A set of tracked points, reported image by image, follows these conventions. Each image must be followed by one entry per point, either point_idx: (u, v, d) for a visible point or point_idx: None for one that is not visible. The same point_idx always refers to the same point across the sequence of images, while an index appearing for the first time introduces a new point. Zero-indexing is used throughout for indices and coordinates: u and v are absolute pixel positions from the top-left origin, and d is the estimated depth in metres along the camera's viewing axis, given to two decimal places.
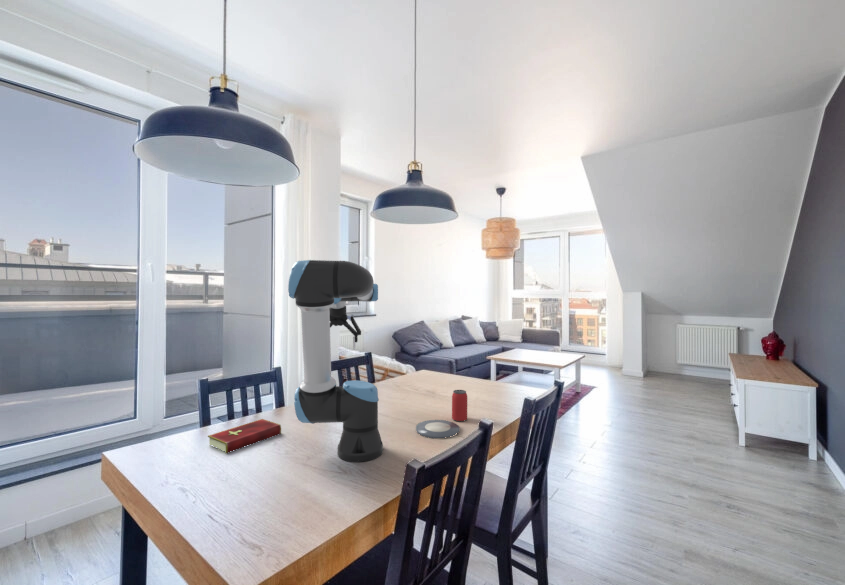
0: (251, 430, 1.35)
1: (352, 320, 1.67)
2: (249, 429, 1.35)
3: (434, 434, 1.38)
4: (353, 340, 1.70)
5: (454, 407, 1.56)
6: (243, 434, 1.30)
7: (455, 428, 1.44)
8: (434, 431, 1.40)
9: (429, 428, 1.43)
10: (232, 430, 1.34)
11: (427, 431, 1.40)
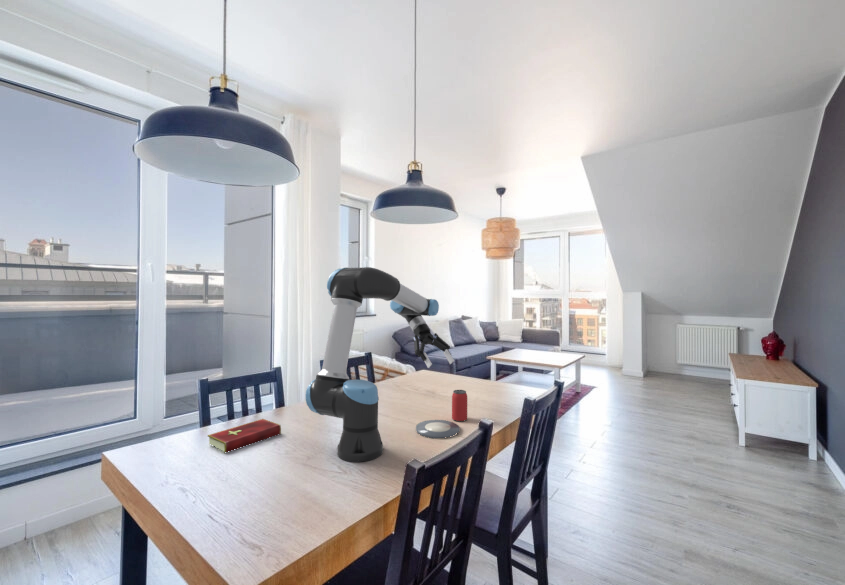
0: (250, 429, 1.35)
1: (437, 336, 1.78)
2: (249, 429, 1.36)
3: (434, 434, 1.38)
4: (448, 352, 1.72)
5: (454, 407, 1.56)
6: (242, 434, 1.31)
7: (455, 428, 1.44)
8: (434, 431, 1.40)
9: (429, 428, 1.43)
10: (232, 430, 1.35)
11: (427, 431, 1.40)
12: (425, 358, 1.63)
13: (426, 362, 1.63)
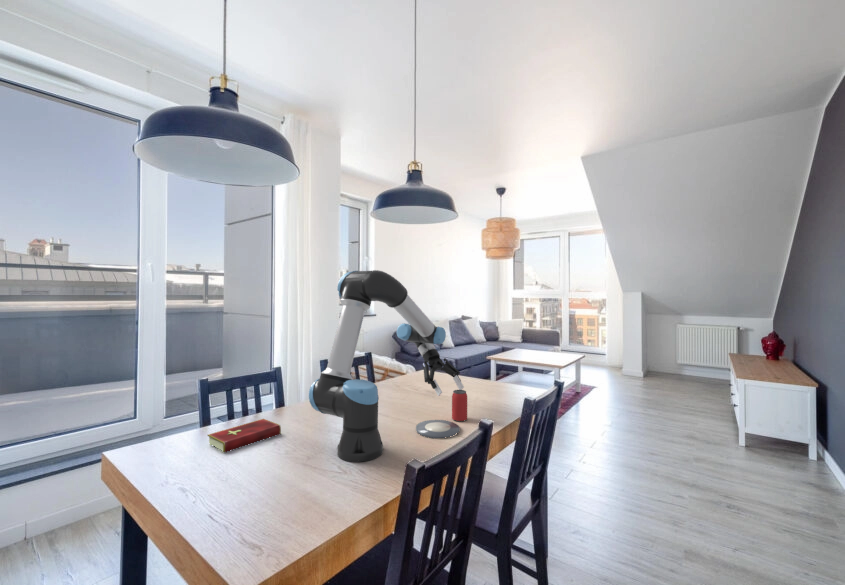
0: (250, 429, 1.35)
1: (447, 361, 1.75)
2: (249, 429, 1.36)
3: (434, 434, 1.38)
4: (458, 378, 1.69)
5: (454, 407, 1.56)
6: (241, 434, 1.31)
7: (455, 428, 1.44)
8: (434, 431, 1.40)
9: (429, 428, 1.43)
10: (232, 429, 1.35)
11: (427, 431, 1.40)
12: (435, 386, 1.60)
13: (436, 390, 1.60)
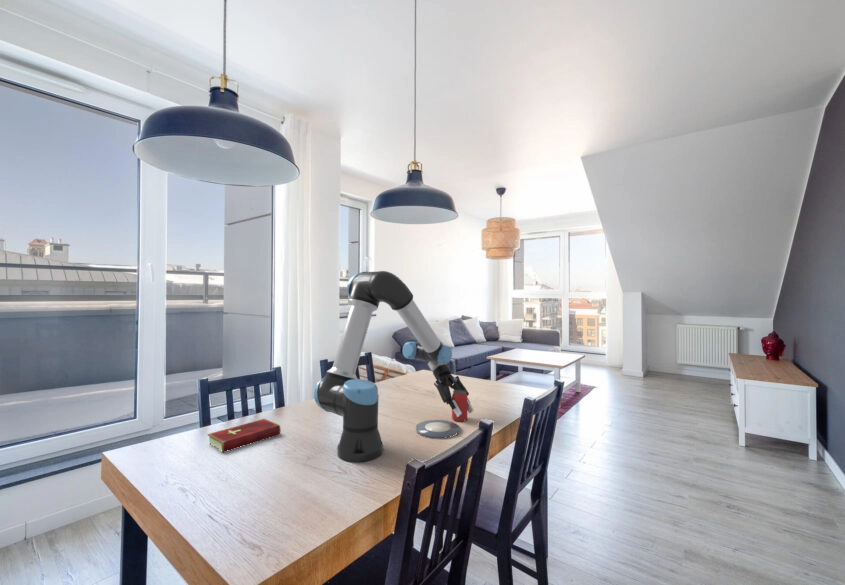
0: (250, 429, 1.35)
1: (458, 379, 1.66)
2: (248, 429, 1.36)
3: (434, 434, 1.38)
4: (467, 400, 1.59)
5: None
6: (241, 434, 1.31)
7: (455, 428, 1.44)
8: (434, 431, 1.40)
9: (429, 428, 1.43)
10: (232, 429, 1.35)
11: (427, 431, 1.40)
12: (454, 406, 1.54)
13: (455, 411, 1.54)
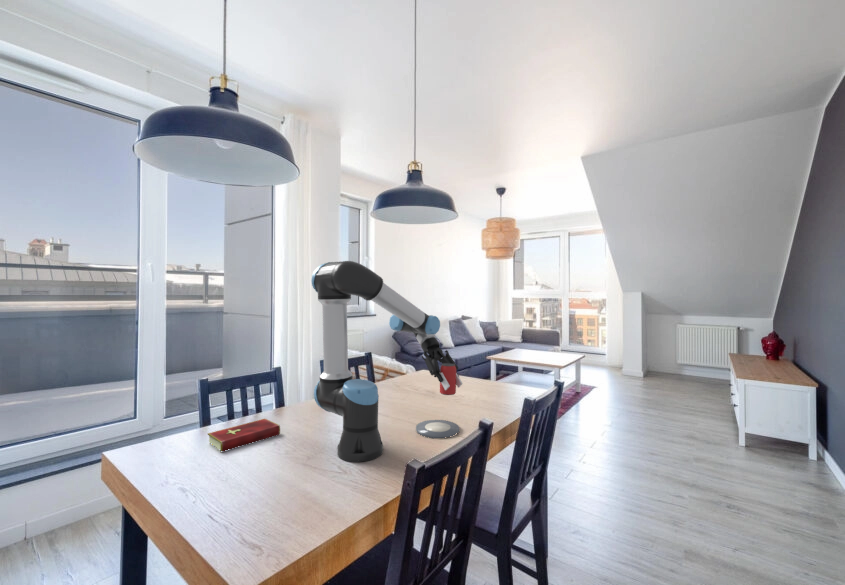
0: (249, 429, 1.35)
1: (448, 353, 1.60)
2: (248, 428, 1.36)
3: (434, 434, 1.38)
4: (456, 374, 1.52)
5: None
6: (240, 434, 1.31)
7: (455, 428, 1.44)
8: (434, 431, 1.40)
9: (429, 428, 1.43)
10: (232, 429, 1.36)
11: (427, 431, 1.40)
12: (442, 379, 1.47)
13: (443, 383, 1.47)
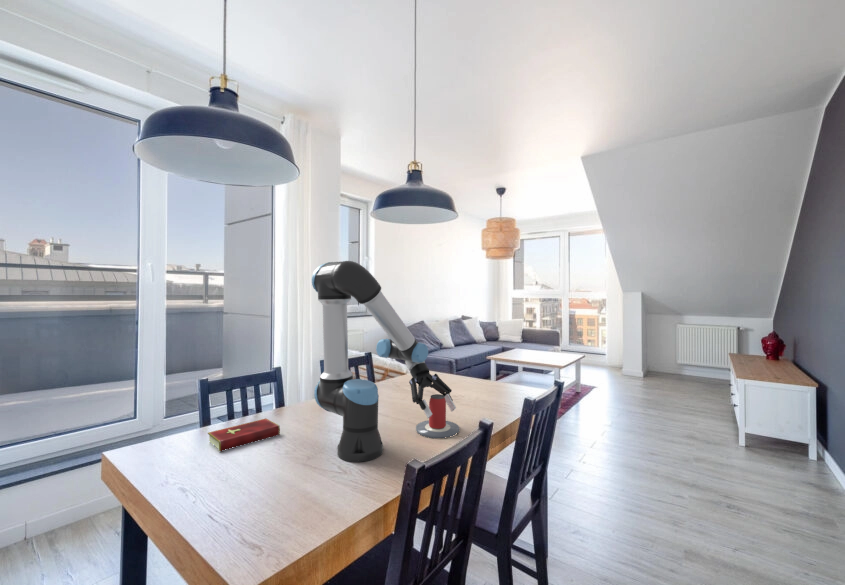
0: (249, 429, 1.36)
1: (437, 377, 1.55)
2: (248, 428, 1.36)
3: (434, 434, 1.38)
4: (449, 397, 1.49)
5: None
6: (239, 433, 1.31)
7: (455, 428, 1.44)
8: (434, 431, 1.40)
9: (429, 428, 1.43)
10: (232, 428, 1.36)
11: (427, 431, 1.40)
12: (424, 407, 1.40)
13: (425, 411, 1.40)
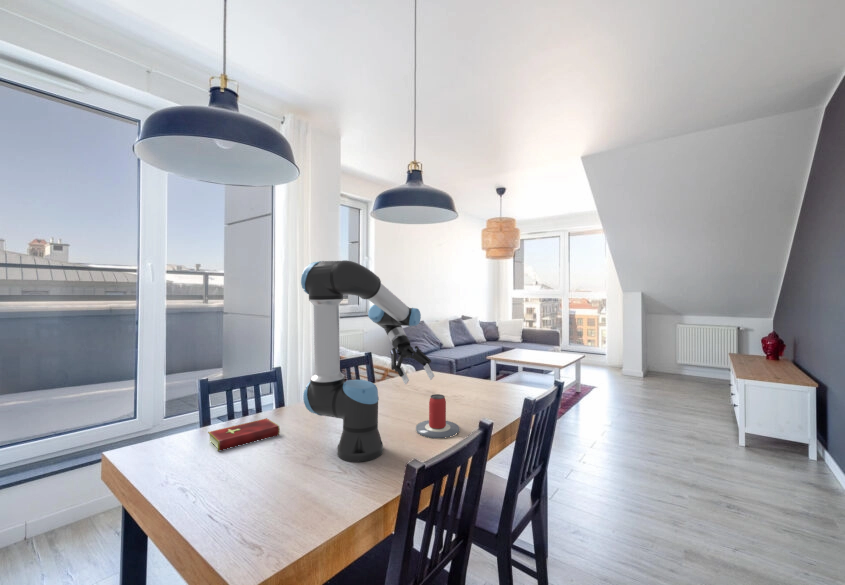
0: (249, 429, 1.36)
1: (418, 349, 1.65)
2: (248, 428, 1.36)
3: (434, 434, 1.38)
4: (428, 367, 1.59)
5: (431, 413, 1.43)
6: (238, 433, 1.31)
7: (455, 428, 1.44)
8: (434, 431, 1.40)
9: (429, 428, 1.43)
10: (232, 428, 1.37)
11: (427, 431, 1.40)
12: (402, 373, 1.50)
13: (403, 378, 1.50)
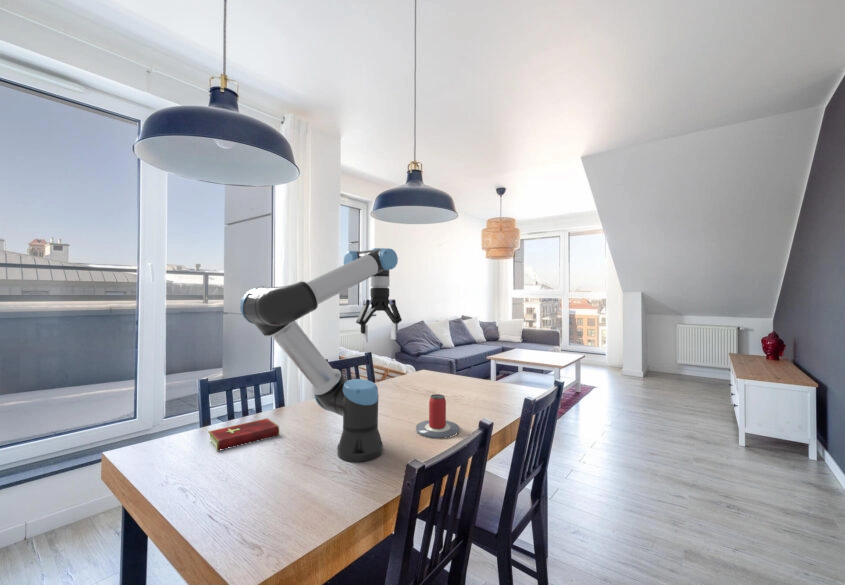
0: (248, 429, 1.36)
1: (394, 304, 1.51)
2: (248, 428, 1.36)
3: (434, 434, 1.38)
4: (395, 328, 1.51)
5: (431, 413, 1.43)
6: (238, 433, 1.32)
7: (455, 428, 1.44)
8: (434, 431, 1.40)
9: (429, 428, 1.43)
10: (232, 428, 1.37)
11: (427, 431, 1.40)
12: (364, 332, 1.42)
13: (363, 335, 1.44)
